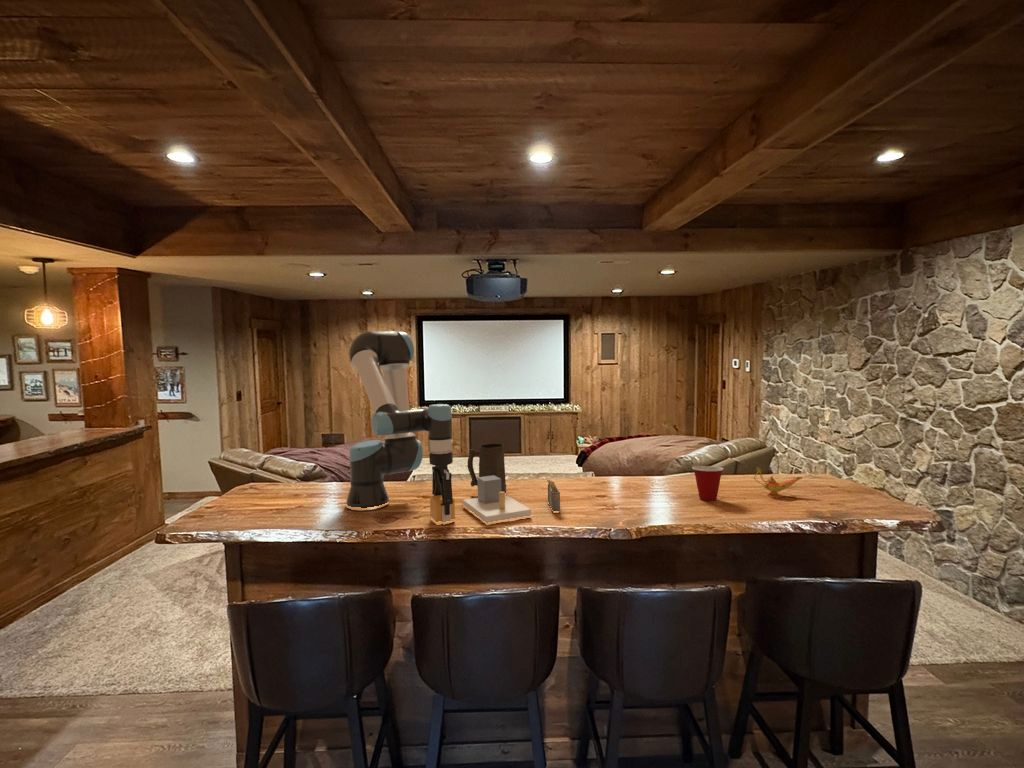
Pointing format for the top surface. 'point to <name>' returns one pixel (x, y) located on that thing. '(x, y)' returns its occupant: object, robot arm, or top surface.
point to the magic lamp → (776, 485)
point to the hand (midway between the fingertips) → (442, 520)
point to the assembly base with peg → (494, 502)
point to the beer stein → (488, 463)
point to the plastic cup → (708, 481)
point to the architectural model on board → (553, 496)
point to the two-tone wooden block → (439, 508)
